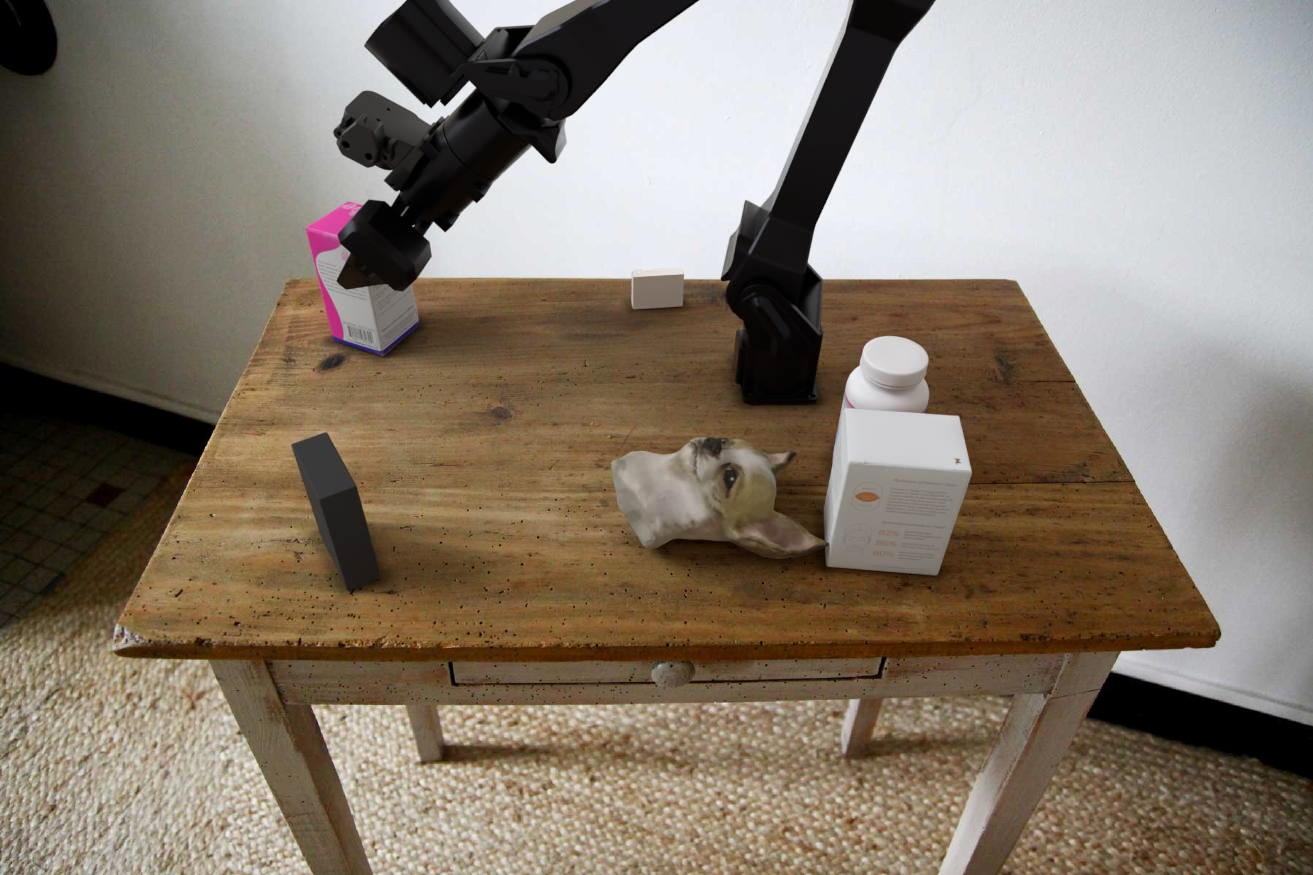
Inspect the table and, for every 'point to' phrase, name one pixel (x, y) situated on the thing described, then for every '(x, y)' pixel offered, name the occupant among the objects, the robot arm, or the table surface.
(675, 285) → the eraser
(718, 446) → the ceramic sculpture
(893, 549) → the small box
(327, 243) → the supplement box
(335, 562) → the black rubber pad
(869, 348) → the pill bottle
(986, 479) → the table surface
